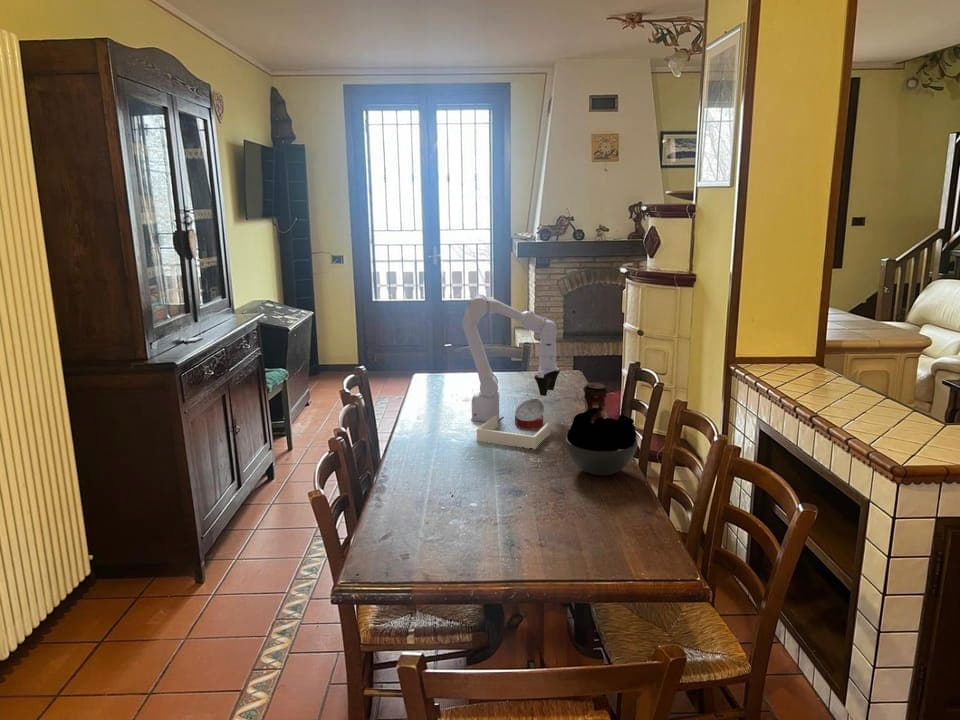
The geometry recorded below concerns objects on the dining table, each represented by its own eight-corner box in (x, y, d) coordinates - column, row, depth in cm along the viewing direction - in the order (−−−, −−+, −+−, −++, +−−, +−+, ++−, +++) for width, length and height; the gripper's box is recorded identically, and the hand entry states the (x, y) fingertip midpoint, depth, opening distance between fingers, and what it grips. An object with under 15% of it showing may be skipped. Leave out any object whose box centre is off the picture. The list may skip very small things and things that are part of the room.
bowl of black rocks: (552, 465, 198) (553, 403, 193) (611, 455, 204) (613, 395, 200) (586, 491, 179) (588, 424, 175) (650, 480, 186) (653, 415, 182)
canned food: (543, 437, 234) (552, 417, 228) (517, 438, 230) (526, 418, 224) (532, 414, 242) (541, 394, 236) (507, 415, 238) (515, 394, 232)
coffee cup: (578, 422, 235) (579, 386, 232) (586, 415, 242) (587, 380, 239) (602, 426, 231) (604, 389, 228) (610, 419, 238) (611, 383, 235)
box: (476, 440, 218) (476, 429, 217) (494, 426, 231) (494, 415, 230) (535, 449, 210) (535, 437, 209) (550, 434, 223) (550, 422, 222)
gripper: (551, 360, 226) (551, 399, 229) (565, 351, 238) (564, 388, 242) (532, 358, 228) (531, 397, 232) (546, 350, 241) (545, 386, 244)
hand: (547, 392), depth 237 cm, fingers open, 7 cm apart
